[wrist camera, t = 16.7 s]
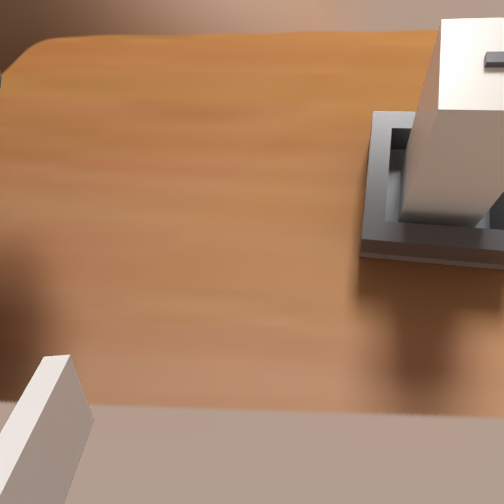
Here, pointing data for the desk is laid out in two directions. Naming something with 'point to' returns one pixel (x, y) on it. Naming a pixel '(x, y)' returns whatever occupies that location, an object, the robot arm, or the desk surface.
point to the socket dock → (412, 234)
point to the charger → (457, 128)
